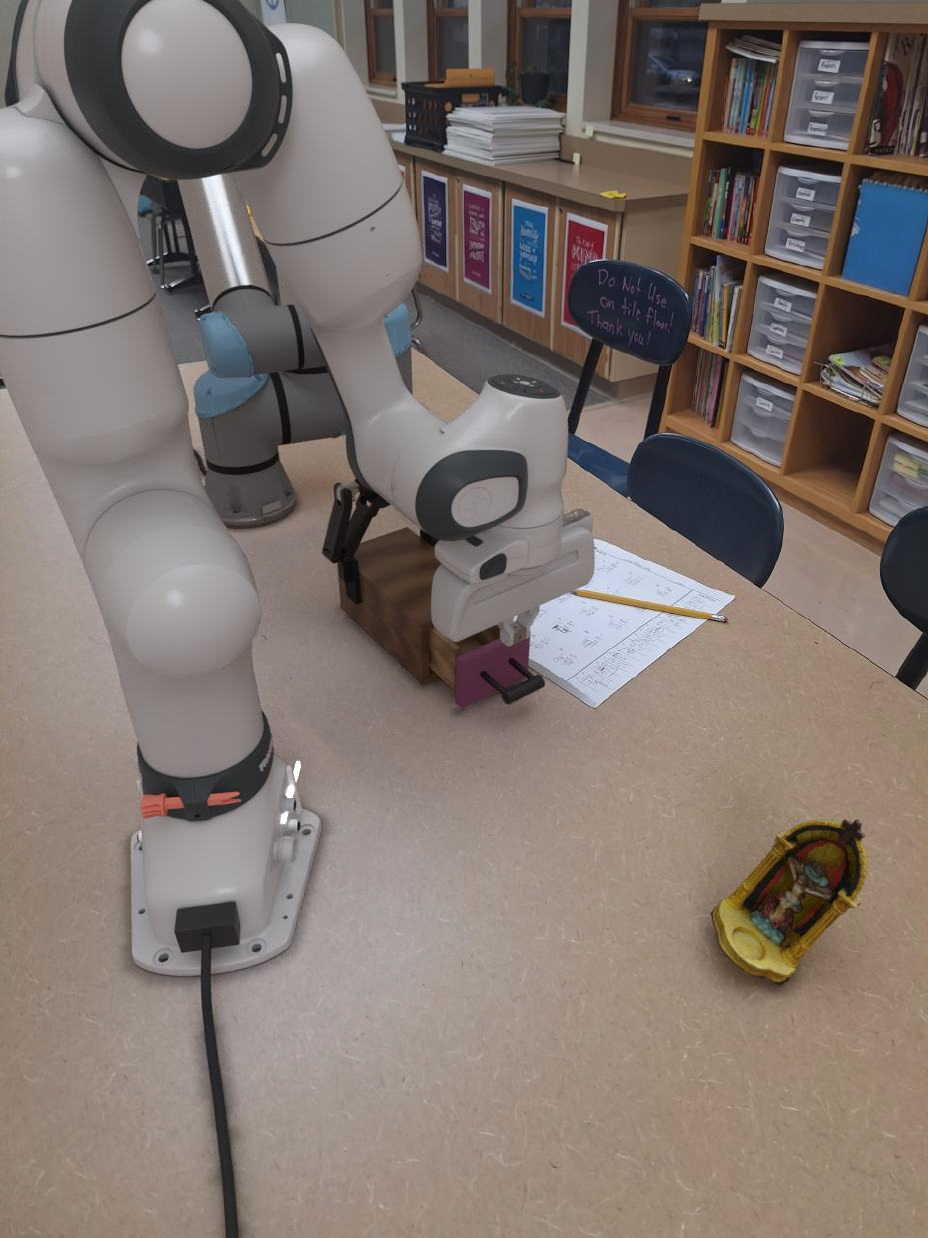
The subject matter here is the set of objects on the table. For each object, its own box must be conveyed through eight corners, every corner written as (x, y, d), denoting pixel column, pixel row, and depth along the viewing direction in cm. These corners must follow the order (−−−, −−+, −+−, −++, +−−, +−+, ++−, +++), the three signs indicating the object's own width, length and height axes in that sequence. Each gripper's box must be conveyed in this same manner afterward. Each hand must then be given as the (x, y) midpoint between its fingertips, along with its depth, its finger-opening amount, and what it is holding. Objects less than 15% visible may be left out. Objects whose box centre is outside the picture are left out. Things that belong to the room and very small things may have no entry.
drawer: (558, 702, 103) (563, 656, 99) (491, 737, 98) (493, 690, 94) (439, 604, 119) (439, 561, 115) (377, 630, 114) (374, 586, 110)
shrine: (791, 892, 81) (830, 781, 73) (851, 966, 75) (901, 853, 66) (686, 929, 78) (714, 817, 69) (739, 1009, 72) (776, 896, 63)
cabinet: (494, 651, 112) (497, 594, 107) (422, 684, 107) (420, 625, 101) (409, 581, 125) (407, 526, 120) (340, 607, 120) (335, 551, 115)
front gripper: (573, 493, 96) (565, 596, 104) (420, 549, 86) (424, 658, 94) (613, 515, 91) (601, 620, 99) (457, 577, 82) (458, 689, 90)
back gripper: (445, 402, 113) (447, 546, 125) (280, 448, 101) (301, 601, 114) (479, 421, 108) (478, 568, 120) (311, 470, 96) (329, 627, 109)
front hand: (514, 639), depth 97 cm, fingers closed
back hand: (392, 584), depth 117 cm, fingers closed on cabinet, 11 cm apart
